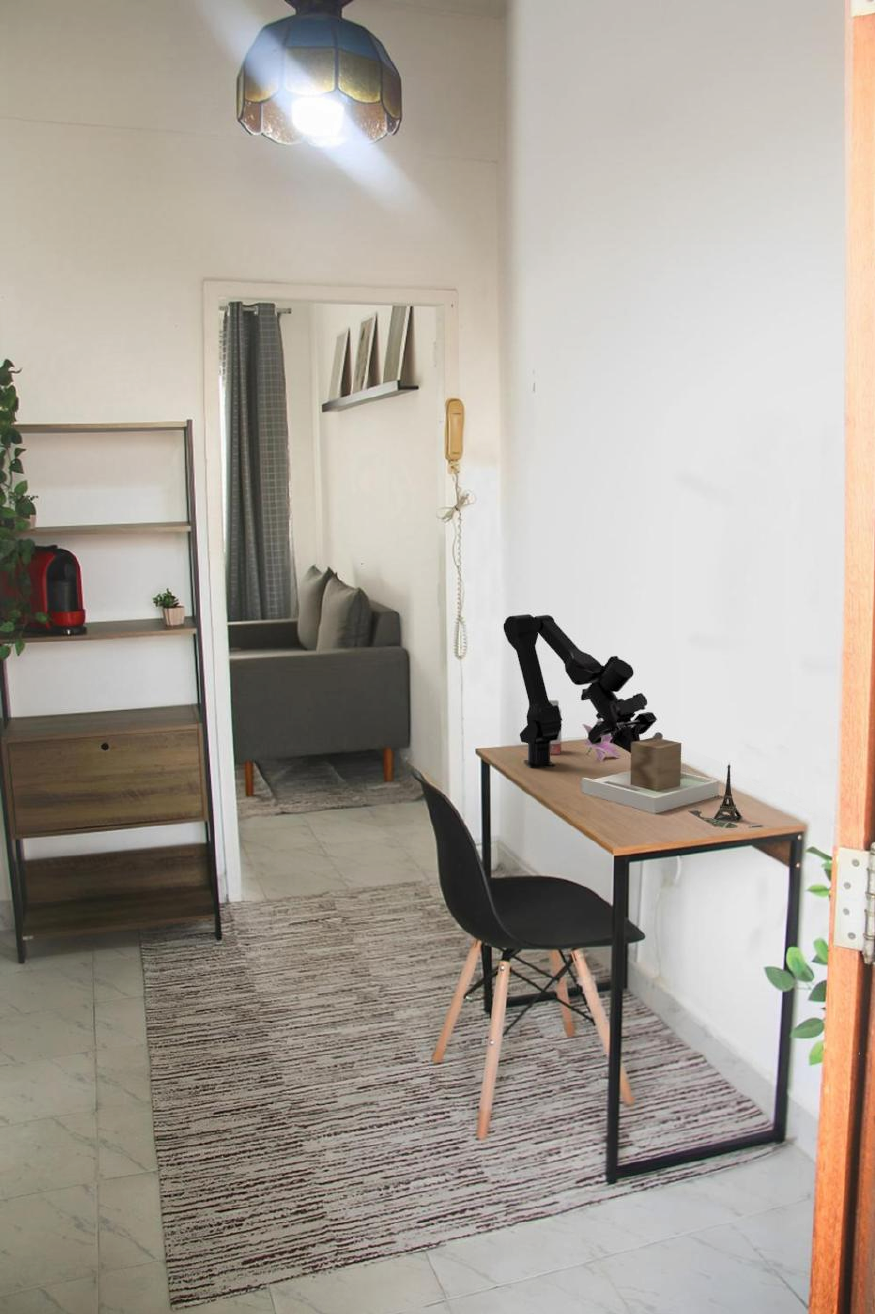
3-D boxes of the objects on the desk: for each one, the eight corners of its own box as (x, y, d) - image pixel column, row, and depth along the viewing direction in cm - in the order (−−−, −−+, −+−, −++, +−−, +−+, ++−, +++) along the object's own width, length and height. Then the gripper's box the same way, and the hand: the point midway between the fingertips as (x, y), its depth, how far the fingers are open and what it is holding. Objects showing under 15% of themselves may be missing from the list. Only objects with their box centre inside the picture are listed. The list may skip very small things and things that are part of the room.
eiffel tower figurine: (686, 813, 242) (687, 753, 240) (727, 809, 245) (729, 750, 243) (721, 833, 228) (723, 770, 226) (765, 828, 230) (767, 766, 228)
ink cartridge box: (561, 750, 299) (562, 697, 297) (559, 754, 294) (559, 700, 292) (530, 749, 301) (530, 696, 299) (527, 753, 296) (527, 699, 294)
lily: (575, 766, 286) (592, 737, 281) (564, 740, 295) (579, 711, 291) (615, 776, 290) (632, 748, 285) (602, 750, 299) (618, 722, 295)
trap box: (582, 792, 257) (582, 778, 256) (645, 777, 270) (645, 763, 270) (655, 813, 240) (655, 798, 239) (718, 795, 253) (718, 780, 253)
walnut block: (630, 784, 254) (631, 742, 253) (653, 778, 259) (654, 737, 257) (657, 791, 248) (658, 748, 246) (680, 785, 253) (681, 743, 251)
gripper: (597, 687, 252) (633, 742, 245) (651, 678, 263) (687, 730, 256) (572, 716, 259) (606, 770, 252) (626, 706, 271) (660, 758, 264)
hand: (641, 756), depth 256 cm, fingers closed, pressing on walnut block
